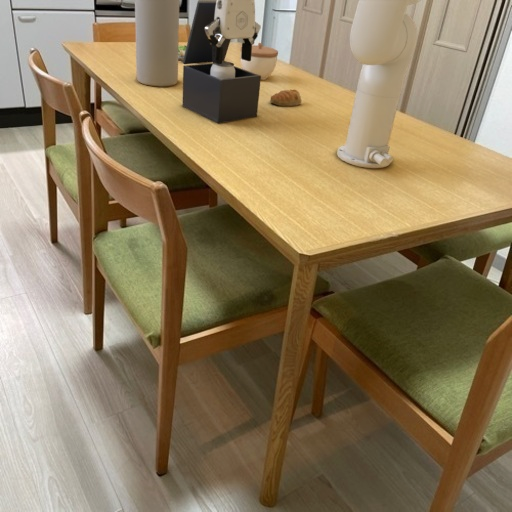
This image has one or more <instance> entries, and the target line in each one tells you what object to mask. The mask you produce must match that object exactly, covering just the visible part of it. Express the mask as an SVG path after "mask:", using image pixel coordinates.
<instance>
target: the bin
mask: <svg viewBox="0 0 512 512" xmlns="http://www.w3.org/2000/svg"><path fill="white" fill-rule="evenodd" d="M212 65H213V62H207V63H195V64H183V67H182V102H181V103H182V105H181V106H182V108H185V109H186V110H188V111H192V112H193V113H196V114H198V115H200V116H202V117H204V118H206V119H208V120H209V121H212V122H215V123H216V124H222V123H227V122H234V121H239V120H244V119H245V120H246V119H249V118H250V119H251V118H255V117H258V109H259V101H260V91H261V90H260V89H261V82H262V80H261V76H260V75H258V74H255V73H252V72H249V71H247V70H244V69H242V67H238V66H235V65H234V68H235V78H229V79H219V78H216V77H214V76H211V75H210V71H211V67H212Z"/></svg>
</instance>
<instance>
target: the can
mask: <svg viewBox="0 0 512 512" xmlns="http://www.w3.org/2000/svg"><path fill="white" fill-rule="evenodd" d="M212 63H213V65H212V67H211V71H210V75H211V76H214V77H216V78H219V79H229V78H235V68H234V66H235V63H233V62H232V61H226V60H224V61H222V64H217V63H214V62H212Z"/></svg>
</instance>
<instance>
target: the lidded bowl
mask: <svg viewBox="0 0 512 512" xmlns="http://www.w3.org/2000/svg"><path fill="white" fill-rule="evenodd" d="M241 53H242V46H241V47H240V54H241ZM278 55H279V51H278V50H277V49H276V48H273V47H269V46H265V45H263V43H262V42H258V43H257V45H256V44H253V45H252V53H251V61H246V60H243V59H241V57H240V58H239V59H240V66H241V67H240V68H241V69H244V70H247V71H249V72H252V73H255V74H258V75H260V76H261V81H265V80H267V79H268V77H270V76H271V75H272V74H273V72H274V71H275V68H276V64H277V62H278V61H277V60H278Z"/></svg>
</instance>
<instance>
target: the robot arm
mask: <svg viewBox="0 0 512 512" xmlns="http://www.w3.org/2000/svg"><path fill="white" fill-rule="evenodd" d="M419 2H421V0H358V2H357V6H356V10H355V13H354V17H353V19H352V23H351V28H350V33H349V48H350V51H351V54H352V56H353V57H354V59H355V60H356V61H357V62H359V63H360V64H362V66H361V70H360V73H359V76H358V80H357V81H358V82H357V87H356V91H355V95H354V100H353V105H352V111H351V116H350V119H349V120H350V121H349V125H348V129H347V135H346V139H345V140H346V141H345V144H343V145H341V146H339V147H338V148H337V151H336V155H337V157H338V158H339V159H340V160H341V161H343V162H345V163H347V164H350V165H353V166H354V167H359V168H365V169H383V168H386V167H388V166H389V165H391V163H392V162H393V161H394V157H393V156H392V155H391V154H389V153H390V148H391V147H390V146H389V143H390V139H391V134H392V130H393V126H394V123H395V118H396V113H397V110H398V106H399V103H400V98H401V95H402V91H403V87H404V82H405V79H406V76H407V72H408V69H409V66H410V63H411V61H412V59H413V56H414V53H415V50H416V46H417V42H418V28H417V25H416V22H415V21H414V19H413V18H412V17H411V16H410V14H408V13H406V12H407V9H408V6H411V5H415V4H417V3H419ZM213 30H214V34H215V35H213ZM260 30H261V24H259V23H258V22H257V21H256V2H255V0H217V1H216V7H215V16H214V21H213V22H211V23H210V24H208V25H207V26H206V27H205V32H206V35H207V39H208V40H209V41H210V44H211V45H213V49H212V61H213V62H214V63H217V64H222V56H223V47H221V45H222V43H223V42H224V40H225V38H226V39H231V40H240V39H241V40H242V41H243V42H242V43H241V47H242V53H241V52H240V58H241V59H243V60H246V61H251V53H252V45H255V41H256V40H257V38H258V36H259V33H260ZM218 39H219V40H218ZM241 59H240V60H241ZM213 62H212V63H213Z"/></svg>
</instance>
